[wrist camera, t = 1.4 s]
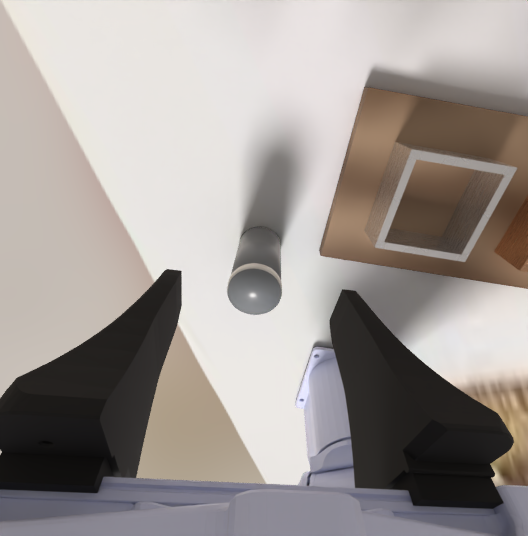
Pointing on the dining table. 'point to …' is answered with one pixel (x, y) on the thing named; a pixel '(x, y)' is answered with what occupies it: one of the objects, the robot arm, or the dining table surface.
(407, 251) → the steel collar
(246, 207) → the dining table surface
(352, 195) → the walnut board
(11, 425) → the robot arm
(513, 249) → the copper collar
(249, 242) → the grey domed cylinder
